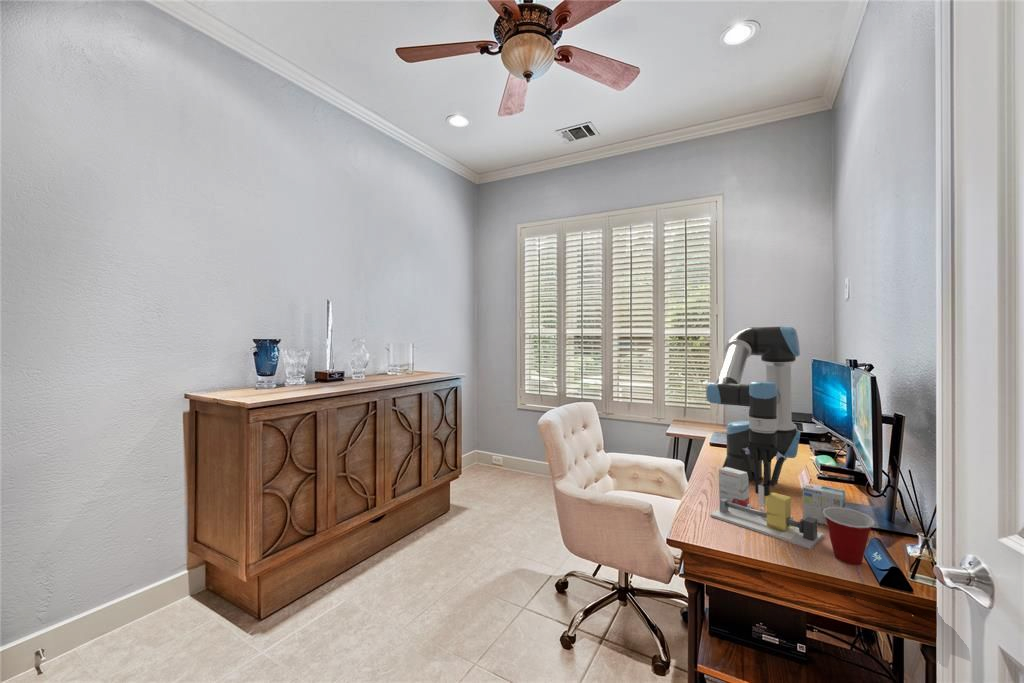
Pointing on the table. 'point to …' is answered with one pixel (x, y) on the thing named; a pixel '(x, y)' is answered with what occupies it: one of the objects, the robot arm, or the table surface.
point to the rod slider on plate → (757, 521)
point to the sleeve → (778, 511)
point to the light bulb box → (821, 501)
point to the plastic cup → (848, 533)
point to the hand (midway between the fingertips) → (762, 505)
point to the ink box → (734, 486)
